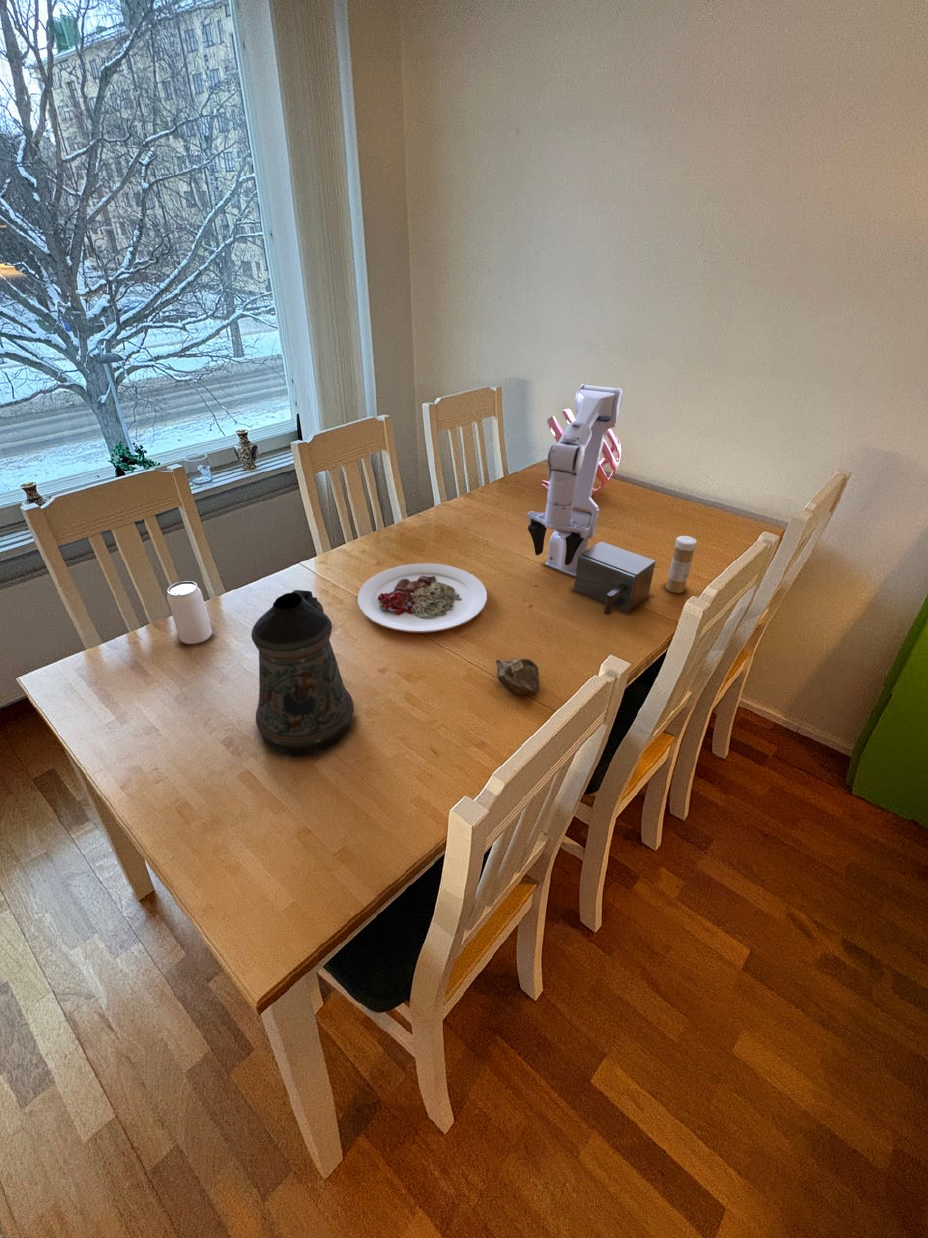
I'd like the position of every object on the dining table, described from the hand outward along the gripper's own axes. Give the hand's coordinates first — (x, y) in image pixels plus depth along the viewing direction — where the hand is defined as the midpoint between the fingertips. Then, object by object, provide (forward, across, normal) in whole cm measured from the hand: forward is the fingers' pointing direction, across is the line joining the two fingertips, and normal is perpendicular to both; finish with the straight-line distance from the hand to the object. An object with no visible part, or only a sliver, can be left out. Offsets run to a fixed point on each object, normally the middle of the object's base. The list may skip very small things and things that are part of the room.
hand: (553, 558), depth 134 cm
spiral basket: (+8, -27, +64) cm, 70 cm away
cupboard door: (+11, +9, +5) cm, 15 cm away
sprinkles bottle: (+10, +22, +24) cm, 34 cm away
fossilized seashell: (+13, +11, -30) cm, 34 cm away
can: (+14, -52, -59) cm, 80 cm away
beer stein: (+14, -14, -61) cm, 64 cm away
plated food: (+12, -23, -18) cm, 32 cm away
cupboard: (+11, +10, +13) cm, 20 cm away
